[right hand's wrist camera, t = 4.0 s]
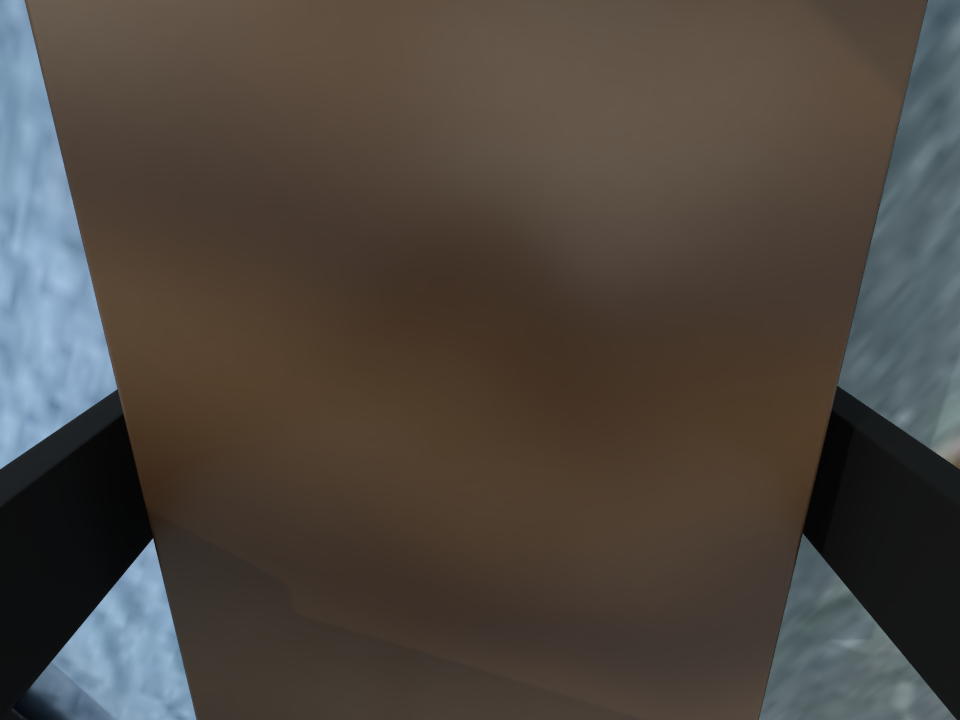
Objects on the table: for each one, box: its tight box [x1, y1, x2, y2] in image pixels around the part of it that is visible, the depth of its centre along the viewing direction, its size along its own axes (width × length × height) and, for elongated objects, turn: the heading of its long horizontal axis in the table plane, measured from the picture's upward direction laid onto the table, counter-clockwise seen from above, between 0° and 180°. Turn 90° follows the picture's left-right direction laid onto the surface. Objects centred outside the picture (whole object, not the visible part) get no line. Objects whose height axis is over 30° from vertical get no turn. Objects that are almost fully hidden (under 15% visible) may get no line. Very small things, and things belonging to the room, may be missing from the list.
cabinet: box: [25, 0, 928, 720], centre depth 11 cm, size 18×11×8 cm, turn 0°
